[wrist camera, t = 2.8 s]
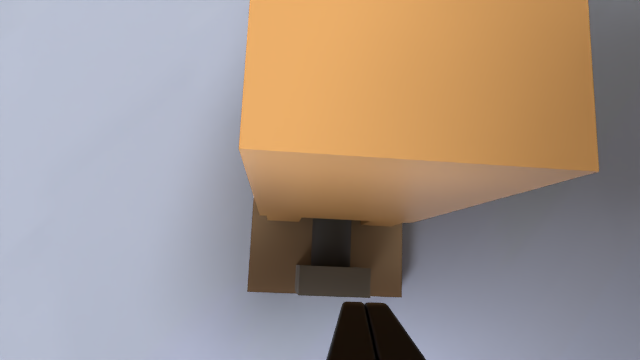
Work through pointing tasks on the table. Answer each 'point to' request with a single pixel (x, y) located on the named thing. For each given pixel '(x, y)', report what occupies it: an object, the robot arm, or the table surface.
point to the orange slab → (413, 105)
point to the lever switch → (325, 257)
